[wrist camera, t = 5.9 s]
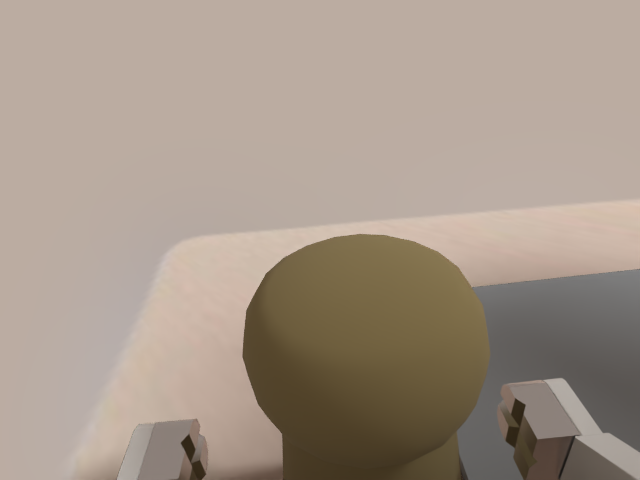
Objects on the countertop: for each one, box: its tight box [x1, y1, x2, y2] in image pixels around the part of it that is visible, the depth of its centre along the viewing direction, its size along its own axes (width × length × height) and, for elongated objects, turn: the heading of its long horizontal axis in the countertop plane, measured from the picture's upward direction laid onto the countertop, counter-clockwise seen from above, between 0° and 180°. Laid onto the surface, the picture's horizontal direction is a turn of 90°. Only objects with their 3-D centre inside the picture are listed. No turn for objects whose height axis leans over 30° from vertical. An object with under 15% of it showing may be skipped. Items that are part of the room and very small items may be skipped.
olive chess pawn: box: [243, 234, 490, 480], centre depth 11 cm, size 6×6×11 cm
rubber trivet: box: [457, 269, 640, 480], centre depth 18 cm, size 14×14×1 cm
